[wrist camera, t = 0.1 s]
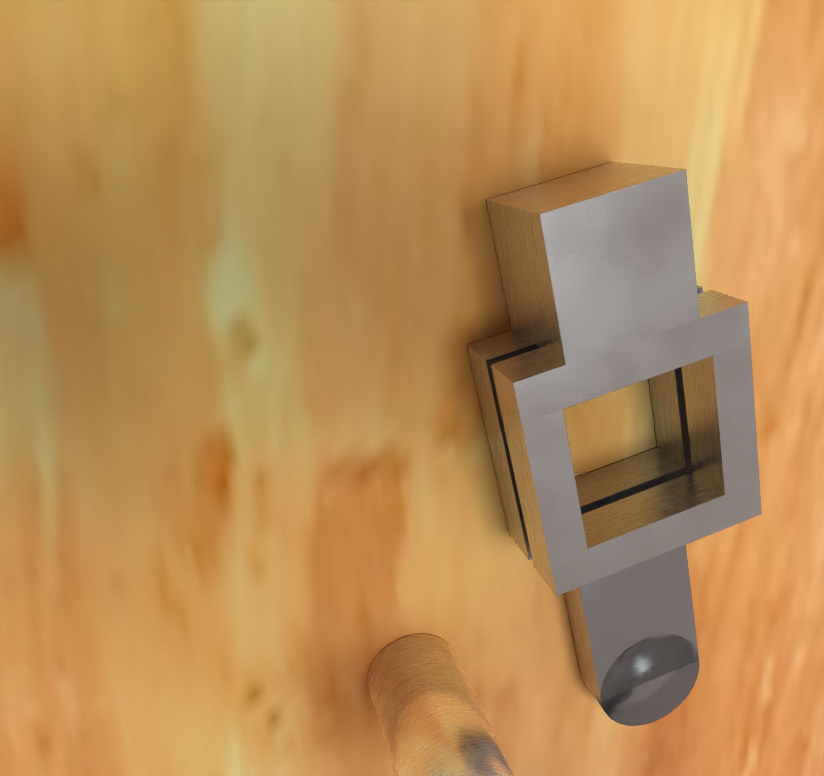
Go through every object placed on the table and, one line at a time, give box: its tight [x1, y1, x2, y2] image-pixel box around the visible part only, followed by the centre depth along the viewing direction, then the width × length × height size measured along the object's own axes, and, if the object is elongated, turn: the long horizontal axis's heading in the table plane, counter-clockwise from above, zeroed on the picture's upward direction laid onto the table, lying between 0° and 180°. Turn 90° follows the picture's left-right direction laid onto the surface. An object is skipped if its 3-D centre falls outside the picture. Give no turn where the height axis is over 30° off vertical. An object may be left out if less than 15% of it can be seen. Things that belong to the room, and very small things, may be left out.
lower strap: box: [467, 285, 703, 726], centre depth 25 cm, size 16×7×2 cm, turn 14°
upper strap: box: [486, 162, 762, 596], centre depth 22 cm, size 11×7×4 cm, turn 14°
